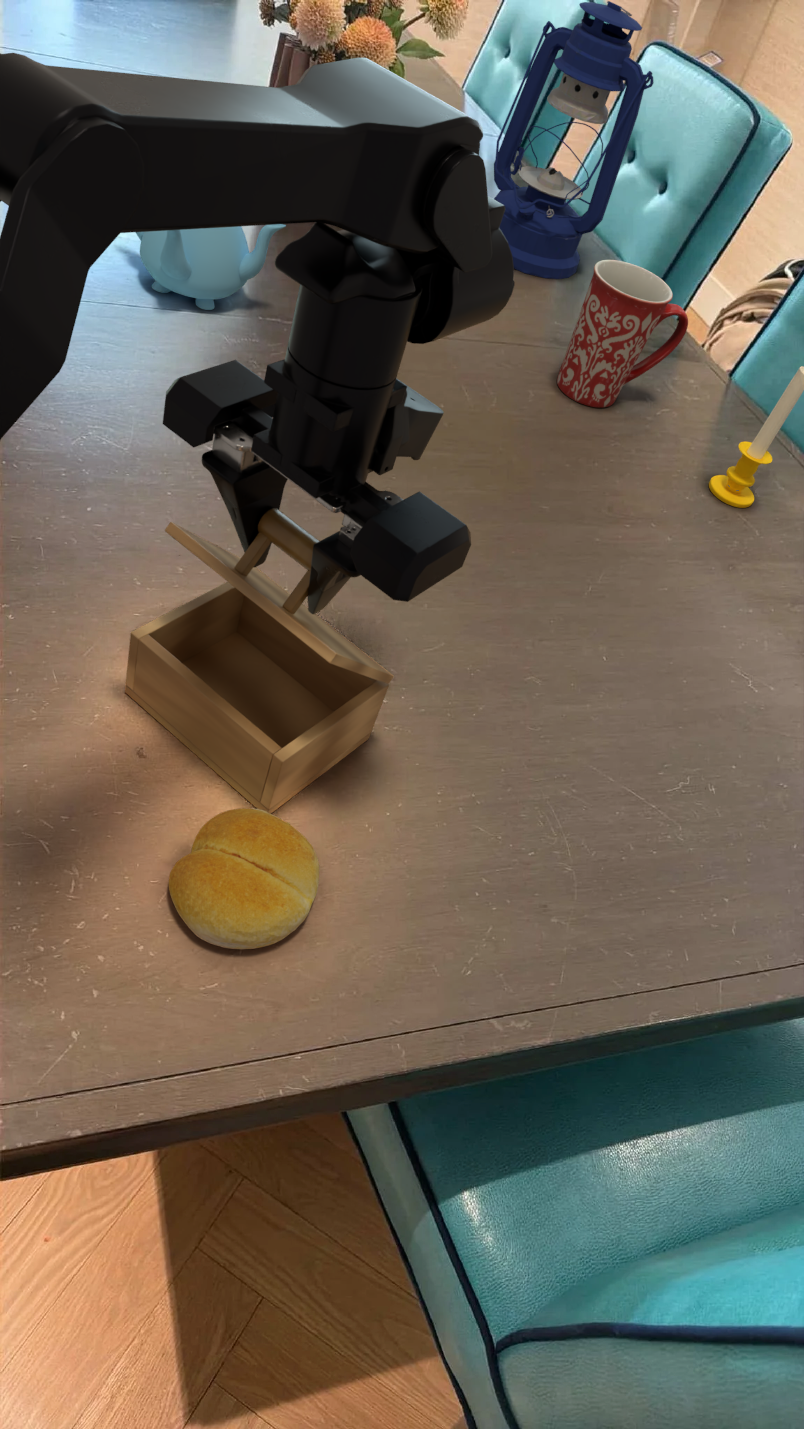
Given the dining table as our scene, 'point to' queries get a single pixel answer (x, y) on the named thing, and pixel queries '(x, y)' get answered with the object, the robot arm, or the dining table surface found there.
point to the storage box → (249, 695)
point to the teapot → (203, 260)
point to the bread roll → (245, 880)
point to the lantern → (539, 212)
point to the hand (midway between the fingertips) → (286, 587)
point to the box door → (274, 596)
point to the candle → (756, 451)
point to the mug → (616, 332)
